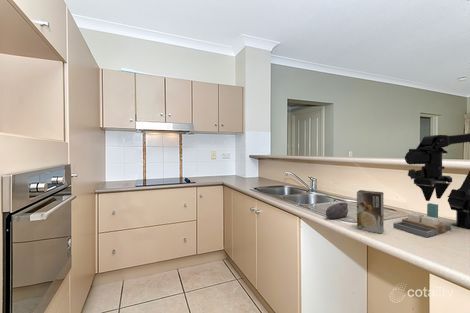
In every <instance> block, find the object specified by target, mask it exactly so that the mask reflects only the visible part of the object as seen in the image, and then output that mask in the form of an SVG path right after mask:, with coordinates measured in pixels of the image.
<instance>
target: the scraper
mask: <svg viewBox="0 0 470 313" xmlns="http://www.w3.org/2000/svg"><path fill="white" fill-rule="evenodd" d="M426 205H427V206H426V216H430V217H434V218H439V204H436V203H432V202H431V203H427V204H426ZM440 223H441V222H440ZM441 224H443V223H441ZM444 224H445V225H447V227H446V232H448V231H451V227H452V226H451V225H449V224H446V223H444Z"/></svg>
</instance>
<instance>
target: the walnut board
mask: <svg viewBox="0 0 470 313" xmlns="http://www.w3.org/2000/svg"><path fill="white" fill-rule="evenodd" d="M401 221H402V222H406V223H410V224H414V225H417V226H421V227H425V228H429V229H433V230H435V236H438V235H441V234H444V233H445V234H446V233H447V231H446V227H447V225H448V224H446V223H442V224H441V222H439V225H435V226H432V225H428V224H424V223H422V222H416V221H412V220H408V217H406V218H402V219H401ZM445 224H446V225H445Z"/></svg>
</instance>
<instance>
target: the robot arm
mask: <svg viewBox="0 0 470 313" xmlns="http://www.w3.org/2000/svg"><path fill="white" fill-rule="evenodd" d="M463 143H464V144H465V143H470V132H469V133H460V134H453V135H446V134H432V135H424V136H423V137H422V139H421V141H420V143H419V144H418V145H417V146H416V147H415V148H409V149H408V152H407V153H406V154H405V156H404V160H405V163H407V165H423V166H422V167H421V169H419V170H418V169H417V170H416V169H414V168H413V169H409V170H408V172H407V177H409V178H410V180H413V185H415V186H416V187H418V188H420V190H421V192H422V195H423V197H424V200H425V201H427V202H430V201H431V198H432V196H433V194H434V191H435V196H436V199H438V200H440V199H441V198H442V196H443V195H444V193H445V192H446V190H447V189H448V188H449V186H450V185H451V183H453V177H452V176H450V175H443V170H444V169H445V166H443V154H448V153H449V152H448V151H447V150H445V149H444V148H446V147H448V146H450V145H455V144H463ZM447 198H448V199H447V203H448V205H449V207H450V208H449V209H450V210H452V211H455V212H456V213H455V214H456V216H455V220H456V222H453V223H452V226H456V227H460V228H465V229H468V230H470V170H469V171H468V173H467V175H466V177H465V179H464V180H463V182H462V184H461V185H460V188H458V189H455V188H453V189H451V190H450V193H449V194H448V195H447Z"/></svg>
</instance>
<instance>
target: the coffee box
mask: <svg viewBox="0 0 470 313" xmlns="http://www.w3.org/2000/svg"><path fill="white" fill-rule="evenodd" d="M384 218H385V216H384V191H374V190H365V189H364V190H362V189H359V190H358V191H356V229H357V230H361V231H367V232H371V233H377V234H383V232H384V231H385V228H384V224H385V223H384Z"/></svg>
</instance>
